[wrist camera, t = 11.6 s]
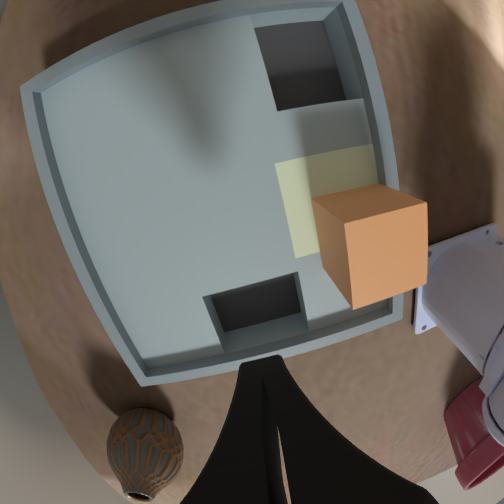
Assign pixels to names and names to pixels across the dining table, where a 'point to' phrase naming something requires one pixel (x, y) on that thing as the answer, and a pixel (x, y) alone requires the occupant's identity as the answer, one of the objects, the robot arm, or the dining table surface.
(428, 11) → the dining table surface
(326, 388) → the dining table surface
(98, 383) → the dining table surface
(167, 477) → the vase
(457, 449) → the plant pot
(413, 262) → the block
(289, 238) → the box
